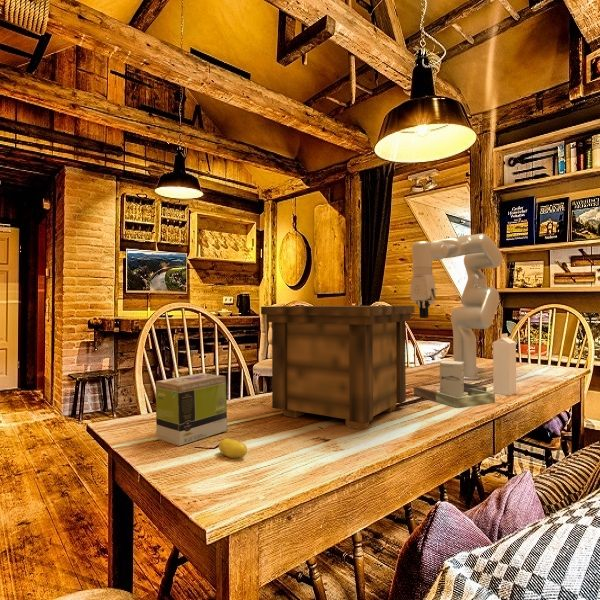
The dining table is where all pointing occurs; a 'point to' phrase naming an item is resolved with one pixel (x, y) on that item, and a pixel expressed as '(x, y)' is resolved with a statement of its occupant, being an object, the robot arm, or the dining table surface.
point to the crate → (338, 360)
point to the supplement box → (452, 378)
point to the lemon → (232, 448)
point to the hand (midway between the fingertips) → (424, 317)
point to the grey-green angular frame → (475, 397)
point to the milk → (504, 366)
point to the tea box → (190, 407)
